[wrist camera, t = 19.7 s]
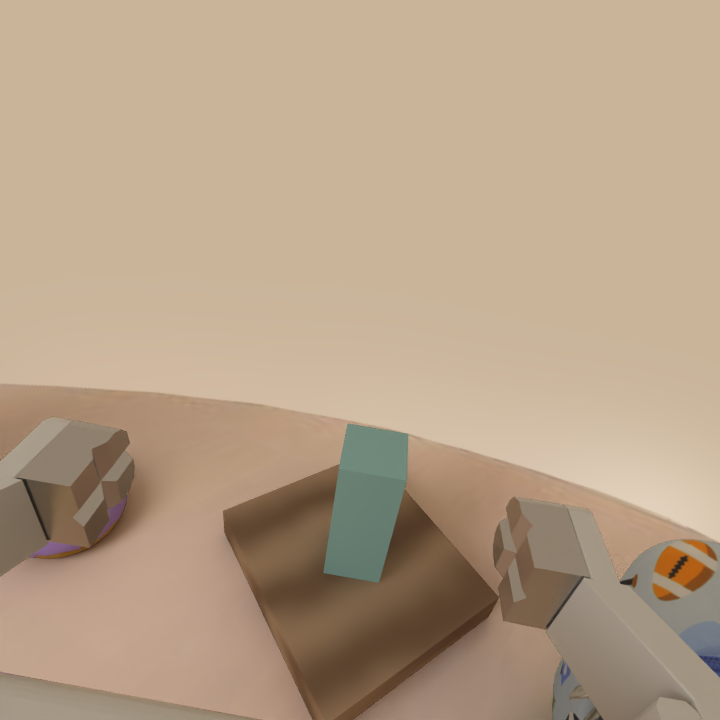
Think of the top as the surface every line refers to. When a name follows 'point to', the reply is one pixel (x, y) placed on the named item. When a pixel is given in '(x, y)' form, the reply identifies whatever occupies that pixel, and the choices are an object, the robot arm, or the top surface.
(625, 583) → the lunch box
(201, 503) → the top surface
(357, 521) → the teal block
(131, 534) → the top surface
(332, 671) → the walnut riser
